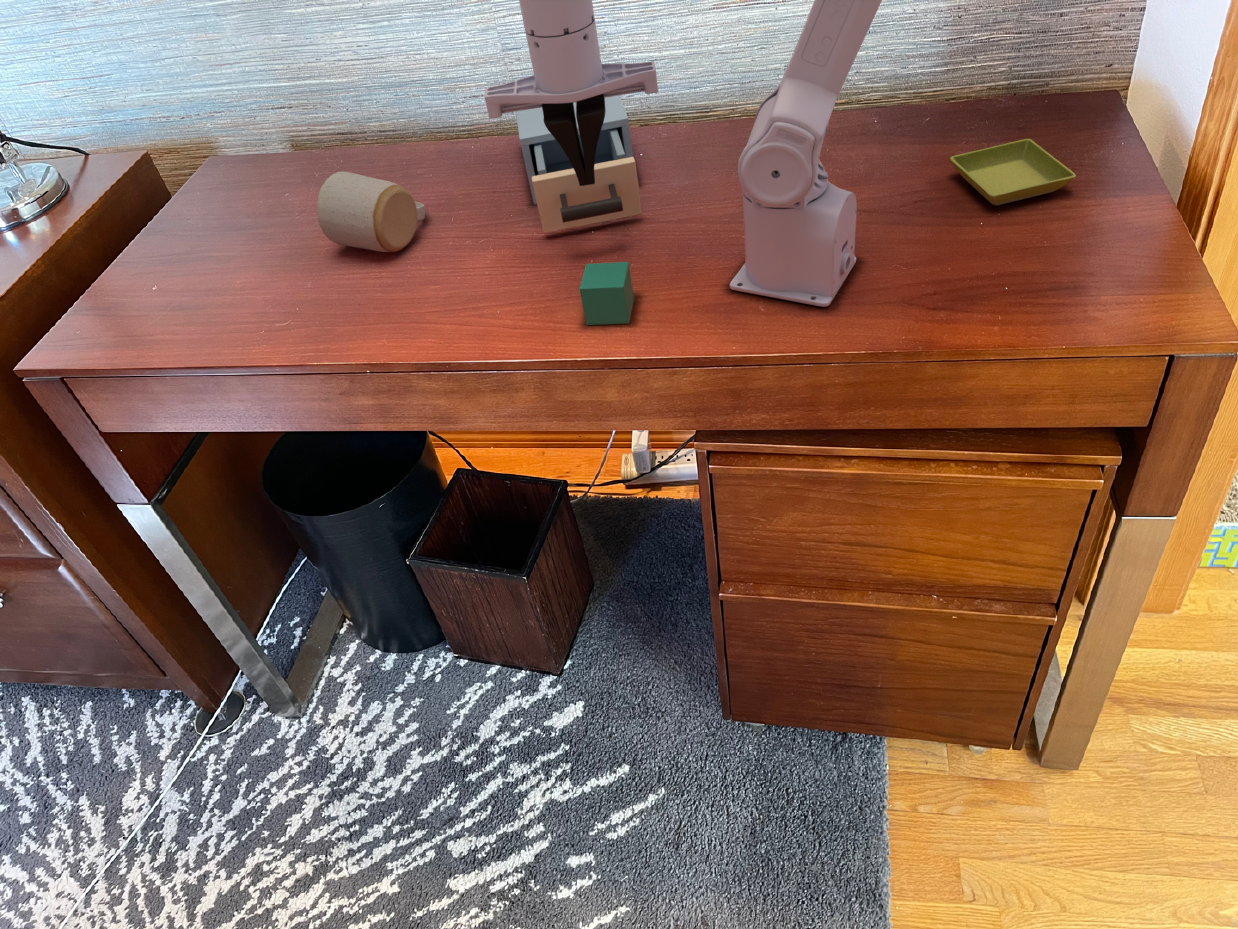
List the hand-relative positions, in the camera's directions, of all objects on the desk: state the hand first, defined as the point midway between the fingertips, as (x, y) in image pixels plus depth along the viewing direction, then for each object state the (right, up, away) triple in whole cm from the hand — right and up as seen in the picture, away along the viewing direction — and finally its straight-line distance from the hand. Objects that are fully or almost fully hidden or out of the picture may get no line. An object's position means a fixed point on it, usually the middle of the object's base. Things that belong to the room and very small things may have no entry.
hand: (587, 179), depth 82 cm
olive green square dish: (+41, +2, +7) cm, 42 cm away
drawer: (0, +2, +14) cm, 14 cm away
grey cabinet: (-2, +9, +23) cm, 25 cm away
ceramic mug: (-23, -1, +17) cm, 28 cm away
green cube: (+2, -12, +1) cm, 12 cm away
